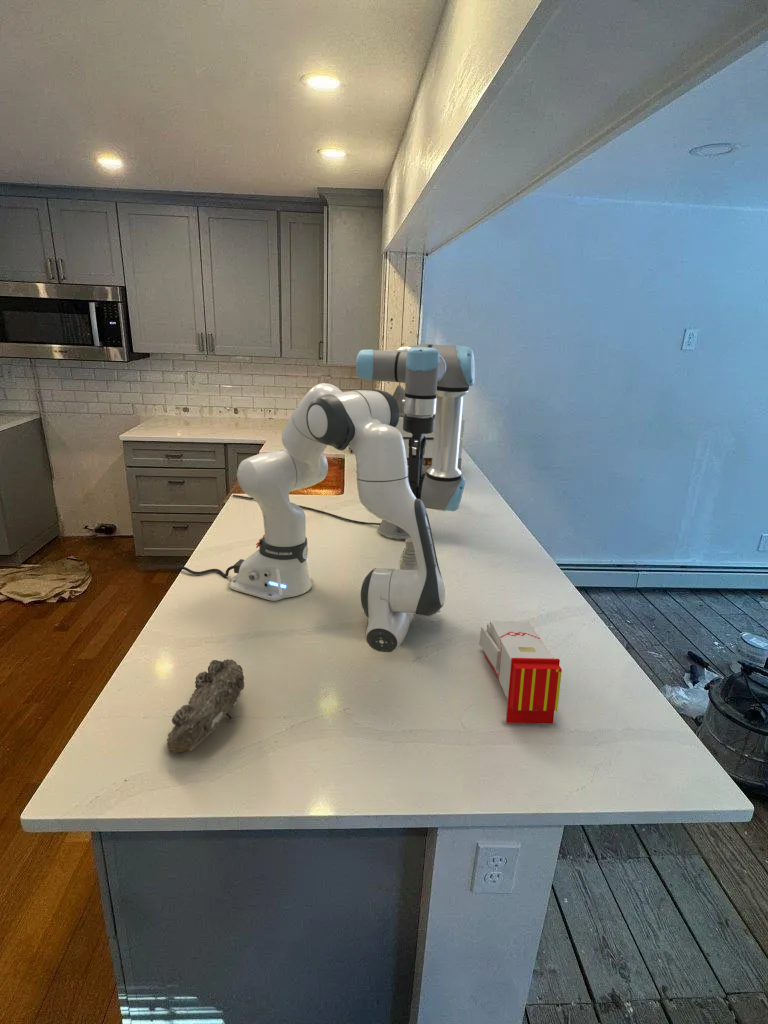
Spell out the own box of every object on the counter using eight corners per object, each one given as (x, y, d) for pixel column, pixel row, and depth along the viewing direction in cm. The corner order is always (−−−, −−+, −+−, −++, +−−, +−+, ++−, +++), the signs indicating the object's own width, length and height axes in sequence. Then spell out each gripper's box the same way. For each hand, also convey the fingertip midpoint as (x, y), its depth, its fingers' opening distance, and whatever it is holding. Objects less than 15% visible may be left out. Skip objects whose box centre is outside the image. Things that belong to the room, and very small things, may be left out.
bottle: (414, 611, 149) (419, 544, 143) (395, 608, 150) (399, 542, 144) (418, 602, 154) (422, 537, 147) (399, 599, 155) (403, 534, 148)
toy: (526, 605, 135) (570, 665, 105) (521, 658, 137) (563, 730, 108) (475, 604, 134) (506, 664, 105) (472, 657, 137) (500, 729, 108)
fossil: (192, 660, 117) (244, 628, 112) (224, 691, 120) (276, 661, 115) (142, 746, 98) (202, 712, 93) (182, 779, 101) (242, 748, 96)
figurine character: (360, 456, 306) (360, 446, 319) (360, 443, 303) (361, 433, 316) (347, 455, 306) (348, 446, 319) (348, 442, 302) (349, 433, 316)
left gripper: (440, 602, 135) (448, 577, 147) (358, 589, 139) (372, 566, 152) (438, 625, 137) (446, 599, 150) (357, 612, 141) (372, 587, 154)
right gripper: (408, 408, 143) (403, 495, 151) (398, 420, 127) (393, 517, 136) (438, 410, 142) (431, 498, 150) (431, 423, 126) (424, 520, 134)
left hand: (408, 582), depth 151 cm, fingers closed on bottle, 5 cm apart
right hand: (413, 507), depth 143 cm, fingers closed on cap, 4 cm apart
